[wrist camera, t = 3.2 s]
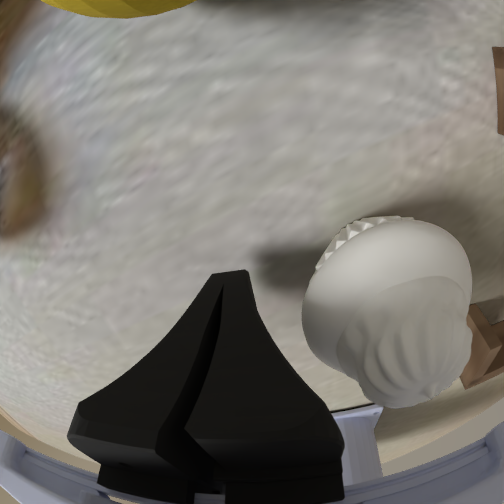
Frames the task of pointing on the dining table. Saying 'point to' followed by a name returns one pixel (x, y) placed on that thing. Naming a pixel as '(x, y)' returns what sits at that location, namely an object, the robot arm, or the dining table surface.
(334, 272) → the muffin
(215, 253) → the dining table surface
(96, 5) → the lemon
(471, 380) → the brown wooden u-shaped frame
